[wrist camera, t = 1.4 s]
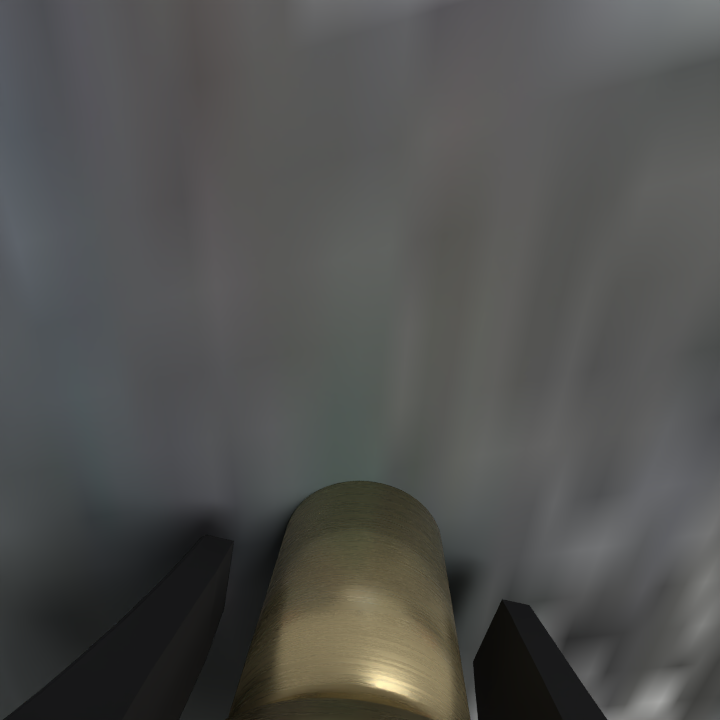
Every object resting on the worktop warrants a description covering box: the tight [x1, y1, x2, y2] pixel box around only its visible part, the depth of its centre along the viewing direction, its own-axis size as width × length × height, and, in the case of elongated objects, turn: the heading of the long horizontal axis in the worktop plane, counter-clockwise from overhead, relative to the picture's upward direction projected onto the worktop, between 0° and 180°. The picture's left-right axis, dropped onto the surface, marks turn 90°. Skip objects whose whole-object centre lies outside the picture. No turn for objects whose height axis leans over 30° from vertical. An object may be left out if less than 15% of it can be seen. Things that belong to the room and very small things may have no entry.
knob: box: [226, 481, 470, 720], centre depth 8 cm, size 5×5×6 cm
